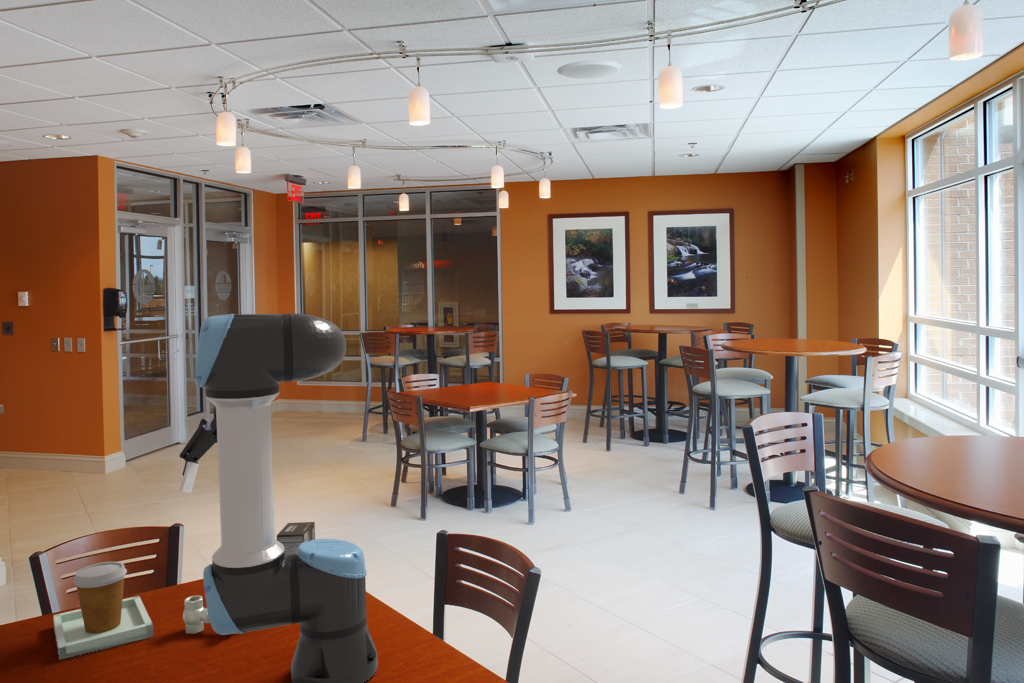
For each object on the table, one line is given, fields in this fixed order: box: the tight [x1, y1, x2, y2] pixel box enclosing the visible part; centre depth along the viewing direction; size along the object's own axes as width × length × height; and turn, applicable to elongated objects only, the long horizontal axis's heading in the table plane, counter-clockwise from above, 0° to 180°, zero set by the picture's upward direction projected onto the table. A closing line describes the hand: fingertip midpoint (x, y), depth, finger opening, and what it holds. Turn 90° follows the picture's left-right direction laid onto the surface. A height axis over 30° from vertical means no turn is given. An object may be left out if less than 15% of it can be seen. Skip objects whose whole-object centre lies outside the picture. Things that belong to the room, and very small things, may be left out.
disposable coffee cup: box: [72, 561, 128, 633], centre depth 144 cm, size 10×10×12 cm
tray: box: [52, 595, 154, 661], centre depth 144 cm, size 18×16×2 cm
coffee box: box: [276, 521, 316, 555], centre depth 159 cm, size 9×6×16 cm
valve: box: [182, 595, 211, 634], centre depth 143 cm, size 7×7×12 cm
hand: (209, 494), depth 152 cm, fingers open, 13 cm apart
